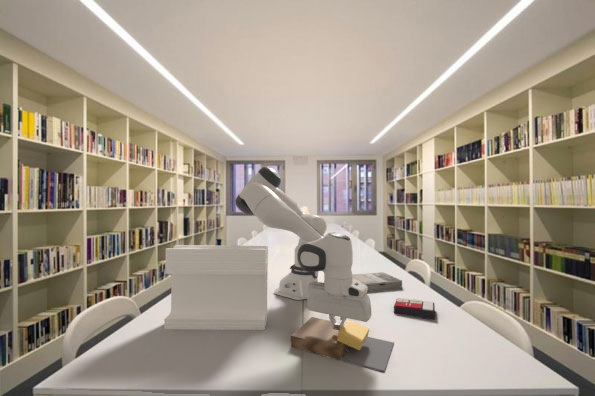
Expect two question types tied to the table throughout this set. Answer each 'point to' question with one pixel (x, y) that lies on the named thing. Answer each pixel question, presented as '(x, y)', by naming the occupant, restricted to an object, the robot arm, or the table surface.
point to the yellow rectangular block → (353, 334)
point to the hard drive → (378, 281)
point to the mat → (370, 354)
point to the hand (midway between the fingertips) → (337, 329)
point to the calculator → (415, 308)
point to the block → (217, 287)
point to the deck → (319, 339)
